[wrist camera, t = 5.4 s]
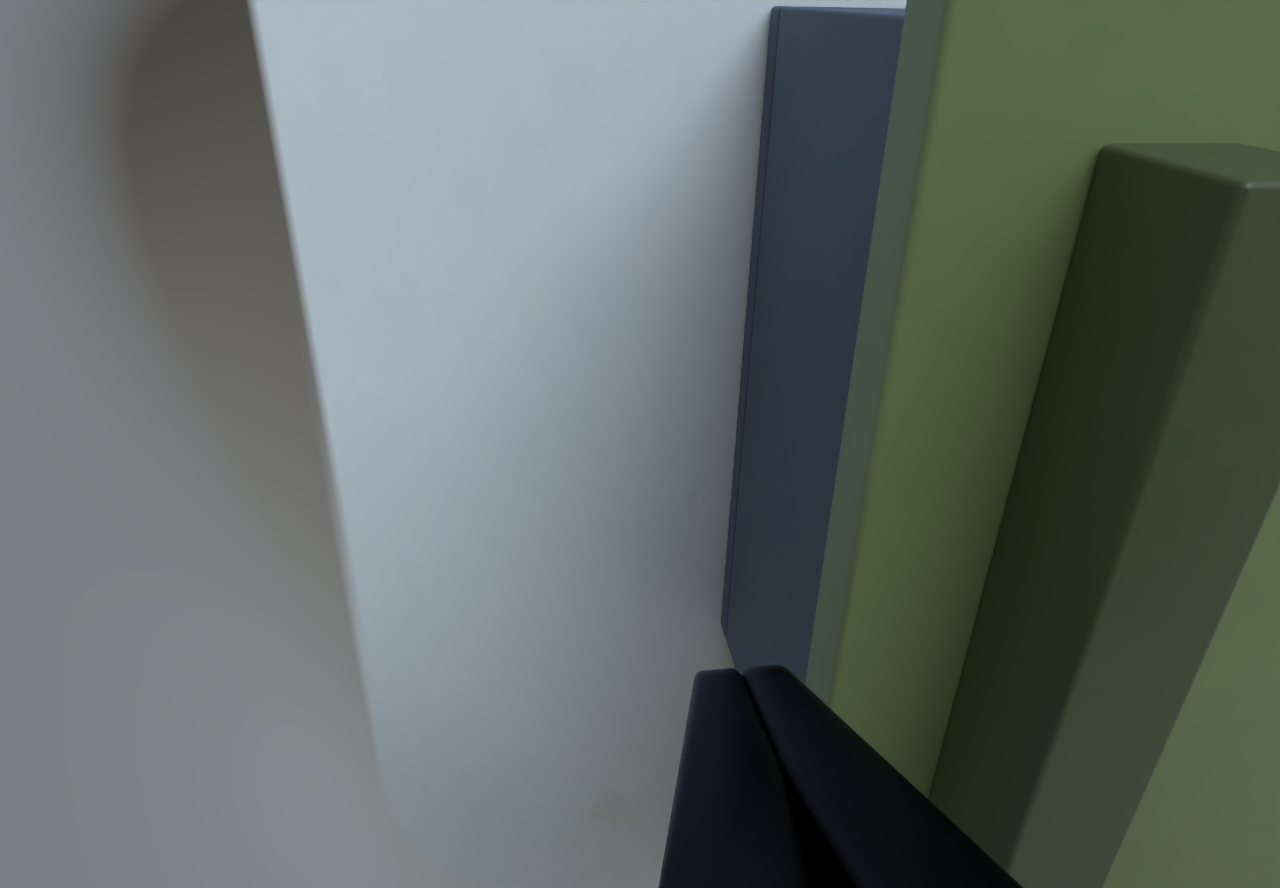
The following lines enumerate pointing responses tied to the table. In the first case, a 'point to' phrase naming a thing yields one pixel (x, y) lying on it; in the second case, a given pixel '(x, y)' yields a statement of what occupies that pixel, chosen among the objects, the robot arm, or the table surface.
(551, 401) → the table surface
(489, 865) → the table surface
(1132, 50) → the bin lid
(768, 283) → the bin
